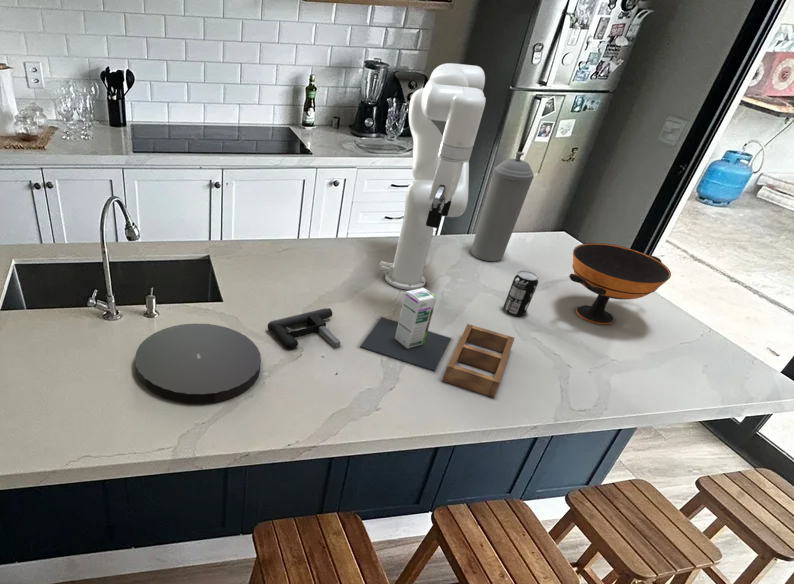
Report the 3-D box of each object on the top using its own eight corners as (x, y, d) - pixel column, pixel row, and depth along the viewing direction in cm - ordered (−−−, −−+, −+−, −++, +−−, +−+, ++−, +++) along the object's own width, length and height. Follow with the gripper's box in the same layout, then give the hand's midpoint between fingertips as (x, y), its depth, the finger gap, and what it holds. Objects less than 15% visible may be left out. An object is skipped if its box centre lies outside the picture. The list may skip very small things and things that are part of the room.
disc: (123, 343, 145) (122, 333, 143) (233, 325, 155) (234, 315, 153) (154, 416, 124) (153, 405, 122) (279, 389, 134) (281, 379, 132)
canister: (510, 256, 203) (547, 154, 182) (494, 266, 196) (531, 160, 174) (477, 245, 210) (510, 144, 188) (461, 254, 202) (492, 150, 181)
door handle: (359, 334, 151) (325, 303, 161) (295, 351, 143) (264, 317, 153) (356, 344, 153) (323, 313, 163) (293, 362, 145) (262, 328, 155)
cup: (591, 349, 157) (620, 292, 146) (520, 306, 174) (542, 252, 163) (669, 324, 172) (701, 271, 161) (596, 287, 189) (621, 236, 178)
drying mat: (359, 347, 151) (360, 346, 150) (381, 318, 163) (381, 316, 163) (434, 371, 144) (434, 370, 144) (450, 339, 157) (451, 338, 157)
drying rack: (442, 380, 141) (447, 365, 138) (462, 337, 158) (467, 323, 155) (493, 397, 137) (499, 382, 134) (509, 351, 154) (514, 337, 151)
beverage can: (522, 307, 174) (536, 271, 167) (527, 318, 169) (542, 281, 162) (500, 304, 174) (513, 268, 167) (505, 315, 169) (519, 279, 162)
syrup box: (407, 349, 151) (420, 300, 141) (393, 338, 155) (405, 290, 145) (424, 345, 153) (438, 296, 144) (410, 334, 157) (423, 286, 148)
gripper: (448, 140, 145) (431, 207, 156) (430, 157, 133) (413, 227, 144) (477, 146, 142) (458, 213, 153) (462, 163, 130) (442, 235, 141)
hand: (436, 220), depth 148 cm, fingers open, 9 cm apart
